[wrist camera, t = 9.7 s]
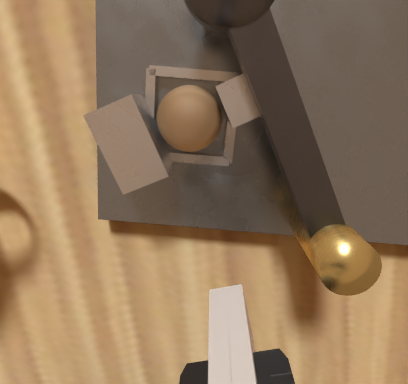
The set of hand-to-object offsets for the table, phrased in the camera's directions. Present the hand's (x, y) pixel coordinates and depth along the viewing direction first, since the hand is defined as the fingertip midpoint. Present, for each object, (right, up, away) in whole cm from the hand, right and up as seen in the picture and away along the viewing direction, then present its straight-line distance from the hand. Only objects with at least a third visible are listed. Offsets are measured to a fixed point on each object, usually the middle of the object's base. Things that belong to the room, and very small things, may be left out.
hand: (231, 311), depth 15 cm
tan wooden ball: (-2, +11, +7) cm, 13 cm away
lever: (+3, +11, +6) cm, 12 cm away
